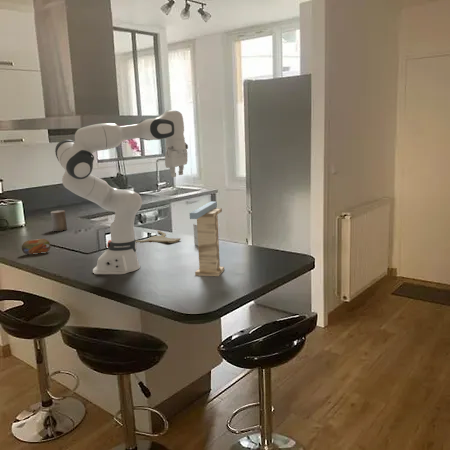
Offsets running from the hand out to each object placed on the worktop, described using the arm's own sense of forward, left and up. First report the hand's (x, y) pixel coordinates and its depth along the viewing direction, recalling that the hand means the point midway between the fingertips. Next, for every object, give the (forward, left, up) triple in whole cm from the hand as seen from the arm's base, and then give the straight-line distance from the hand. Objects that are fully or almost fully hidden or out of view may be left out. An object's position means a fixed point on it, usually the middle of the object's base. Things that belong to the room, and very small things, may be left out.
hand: (177, 175), depth 219 cm
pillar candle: (-90, +104, -44) cm, 145 cm away
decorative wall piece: (-17, +59, -45) cm, 76 cm away
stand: (+13, -13, -44) cm, 48 cm away
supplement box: (+10, +40, -44) cm, 61 cm away
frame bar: (+12, -17, -15) cm, 26 cm away
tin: (-84, +40, -44) cm, 103 cm away
